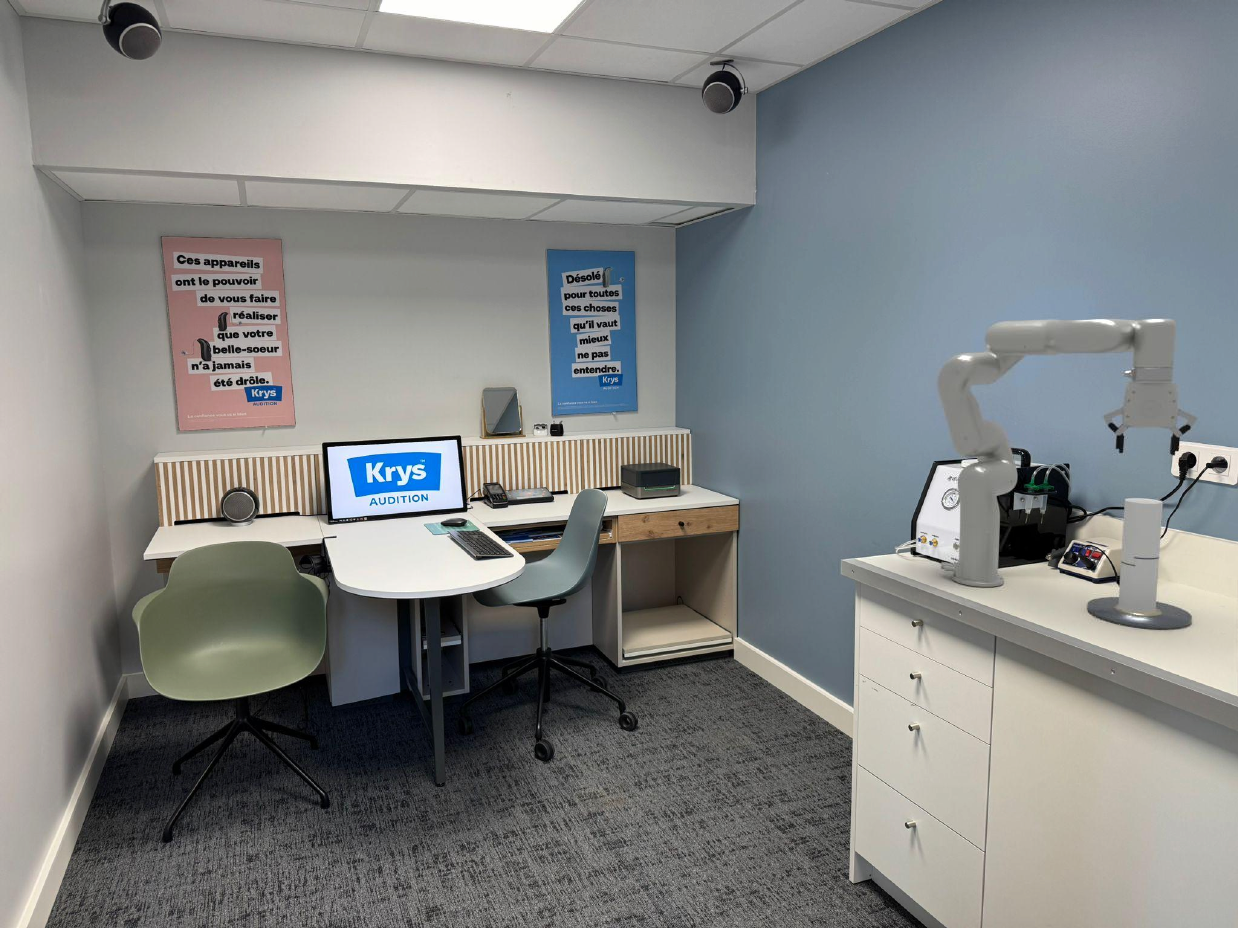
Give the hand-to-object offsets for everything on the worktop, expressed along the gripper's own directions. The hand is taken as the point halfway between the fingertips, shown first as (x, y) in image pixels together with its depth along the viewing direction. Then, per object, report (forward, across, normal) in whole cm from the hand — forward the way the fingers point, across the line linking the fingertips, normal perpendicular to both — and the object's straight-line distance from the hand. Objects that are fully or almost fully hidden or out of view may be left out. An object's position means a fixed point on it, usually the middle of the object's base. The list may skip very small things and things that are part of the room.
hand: (1146, 453), depth 180 cm
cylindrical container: (+36, 0, 0) cm, 36 cm away
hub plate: (+37, +1, 0) cm, 37 cm away
